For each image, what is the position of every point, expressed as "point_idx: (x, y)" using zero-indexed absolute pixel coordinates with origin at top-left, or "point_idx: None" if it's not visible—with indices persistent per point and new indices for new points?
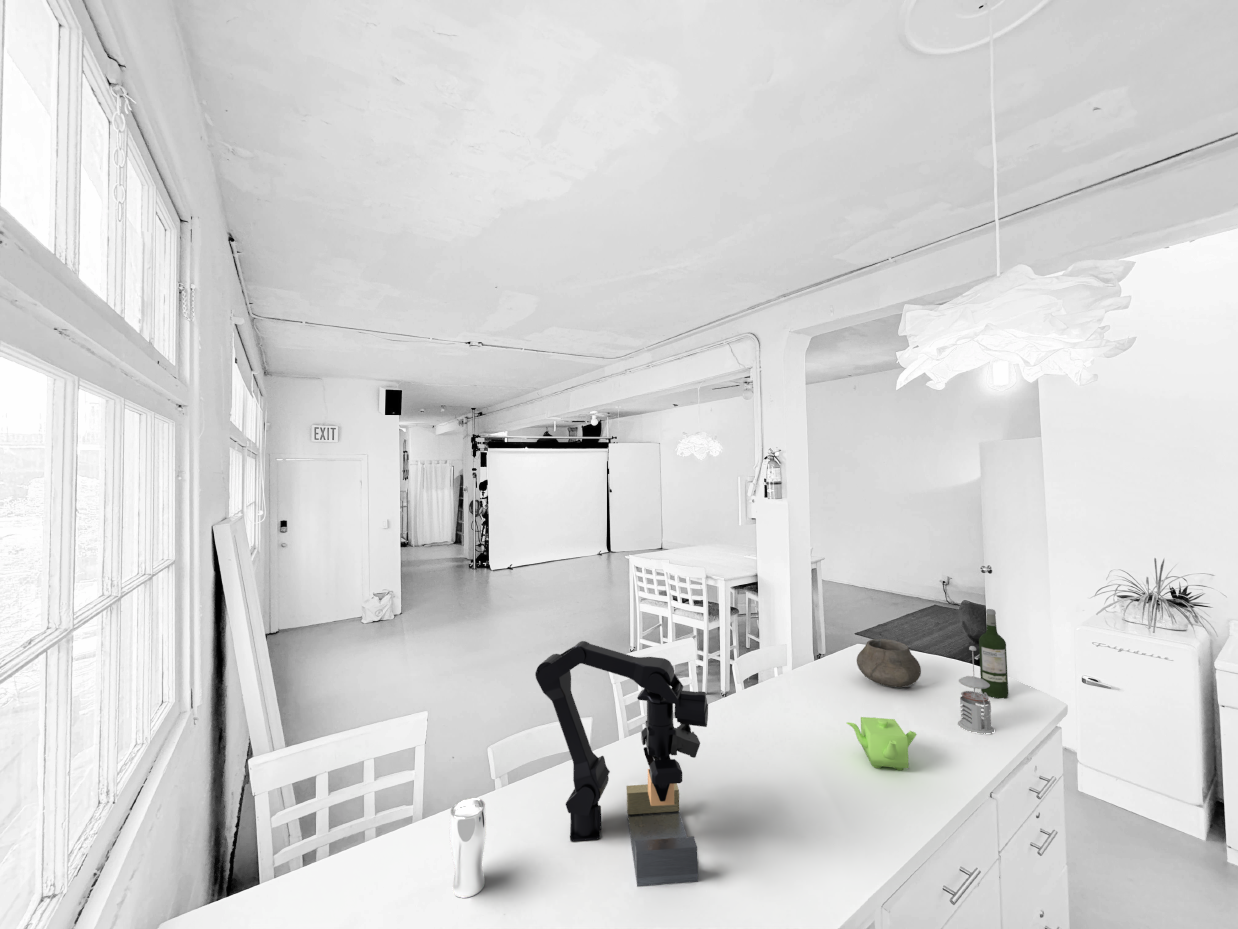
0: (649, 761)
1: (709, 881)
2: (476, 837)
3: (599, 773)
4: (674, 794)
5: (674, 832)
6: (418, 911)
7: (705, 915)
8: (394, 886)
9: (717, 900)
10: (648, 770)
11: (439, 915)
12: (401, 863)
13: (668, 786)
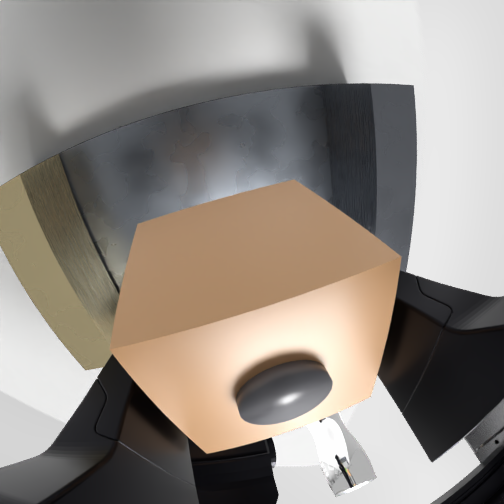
0: (192, 494)
1: (343, 54)
2: (365, 456)
3: (244, 487)
4: (36, 189)
5: (176, 151)
6: (344, 418)
7: (420, 90)
8: (312, 441)
9: (391, 54)
10: (227, 448)
11: (353, 407)
12: (284, 452)
13: (430, 285)
